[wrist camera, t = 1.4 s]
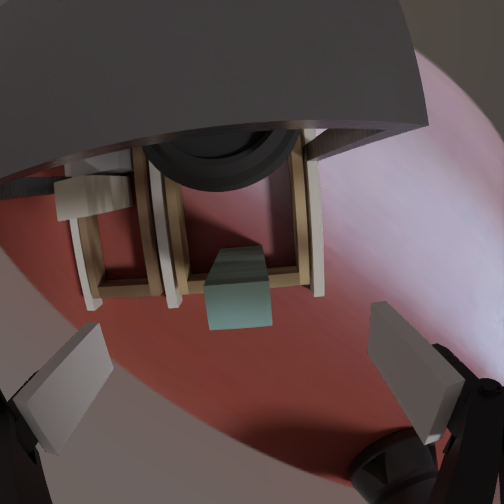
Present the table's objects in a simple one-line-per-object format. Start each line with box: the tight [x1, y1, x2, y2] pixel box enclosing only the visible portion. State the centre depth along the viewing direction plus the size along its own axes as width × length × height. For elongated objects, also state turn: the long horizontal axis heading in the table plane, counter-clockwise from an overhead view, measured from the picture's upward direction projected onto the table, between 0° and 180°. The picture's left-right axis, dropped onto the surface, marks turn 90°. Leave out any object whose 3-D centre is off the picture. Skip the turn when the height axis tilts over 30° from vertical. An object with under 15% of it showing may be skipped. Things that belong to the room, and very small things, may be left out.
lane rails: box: [64, 129, 324, 310], centre depth 27 cm, size 23×24×2 cm
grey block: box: [71, 148, 134, 178], centre depth 24 cm, size 5×5×5 cm
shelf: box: [0, 0, 429, 200], centre depth 17 cm, size 10×24×20 cm, turn 95°
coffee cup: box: [142, 129, 301, 192], centre depth 19 cm, size 9×9×15 cm
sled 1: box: [54, 147, 165, 299], centre depth 23 cm, size 20×8×9 cm, turn 5°
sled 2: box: [164, 134, 310, 330], centre depth 22 cm, size 20×12×11 cm, turn 5°
